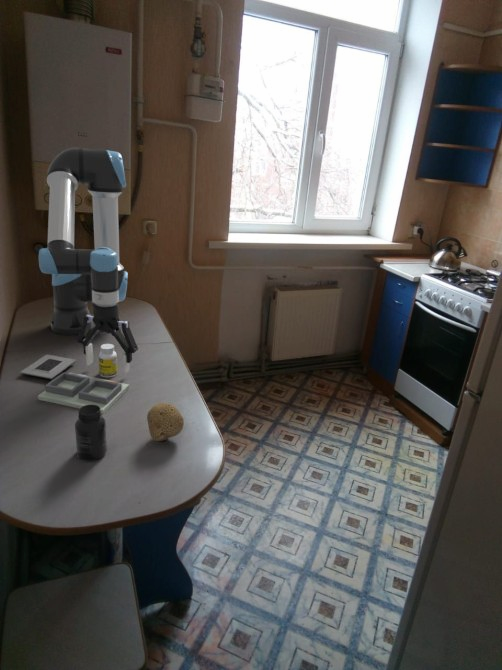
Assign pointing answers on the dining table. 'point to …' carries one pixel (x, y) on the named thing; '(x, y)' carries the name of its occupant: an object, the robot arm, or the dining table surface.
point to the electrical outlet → (48, 366)
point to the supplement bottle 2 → (107, 361)
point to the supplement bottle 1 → (90, 433)
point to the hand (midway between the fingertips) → (108, 367)
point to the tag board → (83, 391)
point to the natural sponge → (164, 421)
